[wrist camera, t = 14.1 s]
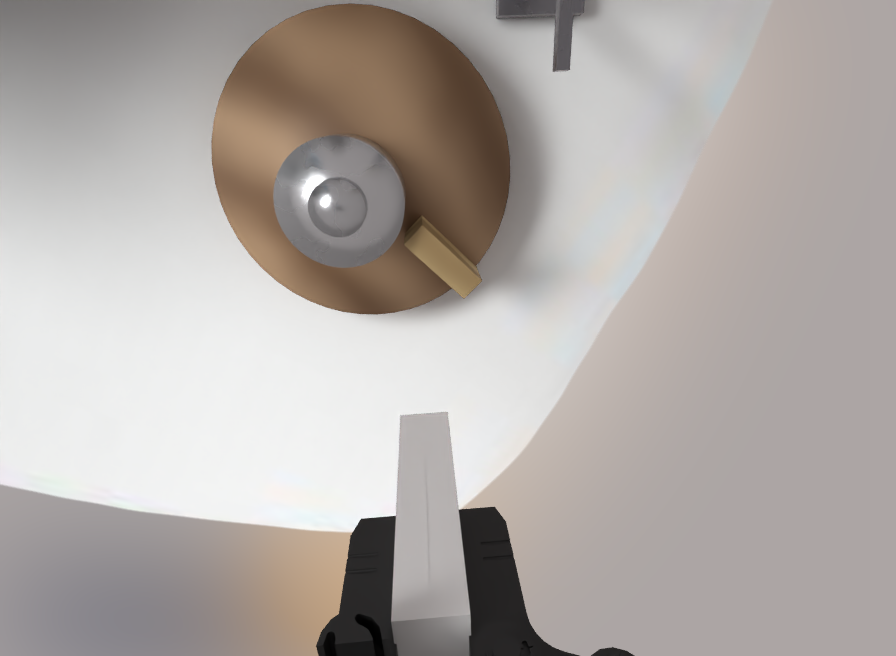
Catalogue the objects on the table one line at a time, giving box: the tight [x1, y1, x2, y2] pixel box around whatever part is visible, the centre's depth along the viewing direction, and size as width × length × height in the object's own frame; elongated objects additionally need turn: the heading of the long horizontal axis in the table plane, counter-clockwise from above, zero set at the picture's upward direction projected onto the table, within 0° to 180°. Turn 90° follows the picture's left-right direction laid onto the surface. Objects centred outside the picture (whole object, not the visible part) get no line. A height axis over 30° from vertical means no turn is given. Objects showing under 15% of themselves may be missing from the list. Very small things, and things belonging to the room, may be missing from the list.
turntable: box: [212, 4, 510, 314], centre depth 28 cm, size 18×18×5 cm
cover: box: [273, 133, 406, 268], centre depth 26 cm, size 7×7×5 cm
